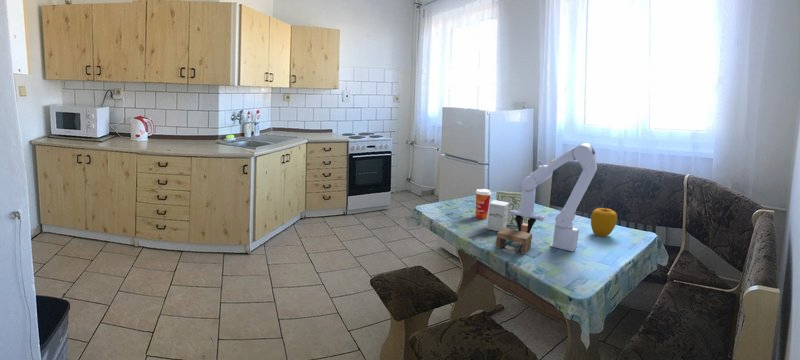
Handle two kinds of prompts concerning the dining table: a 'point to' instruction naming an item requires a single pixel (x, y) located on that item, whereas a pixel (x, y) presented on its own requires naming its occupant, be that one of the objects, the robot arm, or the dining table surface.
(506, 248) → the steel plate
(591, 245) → the dining table surface
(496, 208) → the supplement box
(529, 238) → the walnut shelf
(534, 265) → the dining table surface
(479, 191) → the paper cup
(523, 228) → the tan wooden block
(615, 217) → the apple
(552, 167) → the robot arm
